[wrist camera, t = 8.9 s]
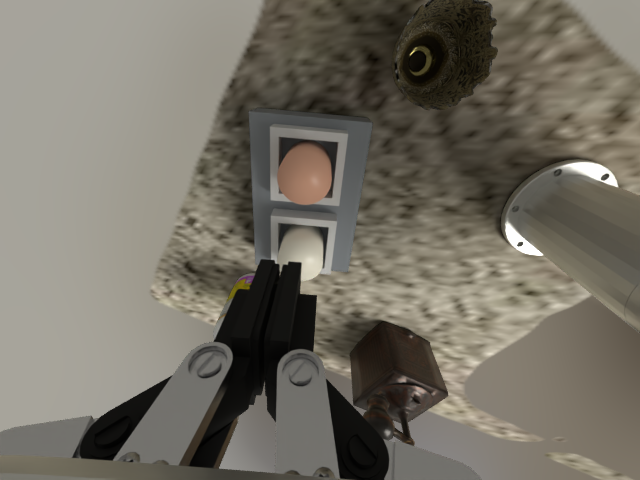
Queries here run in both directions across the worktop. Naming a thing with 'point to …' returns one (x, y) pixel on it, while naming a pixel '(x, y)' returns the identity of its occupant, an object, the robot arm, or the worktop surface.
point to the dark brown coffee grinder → (394, 379)
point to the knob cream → (302, 249)
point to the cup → (445, 52)
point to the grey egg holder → (342, 198)
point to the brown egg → (305, 173)
